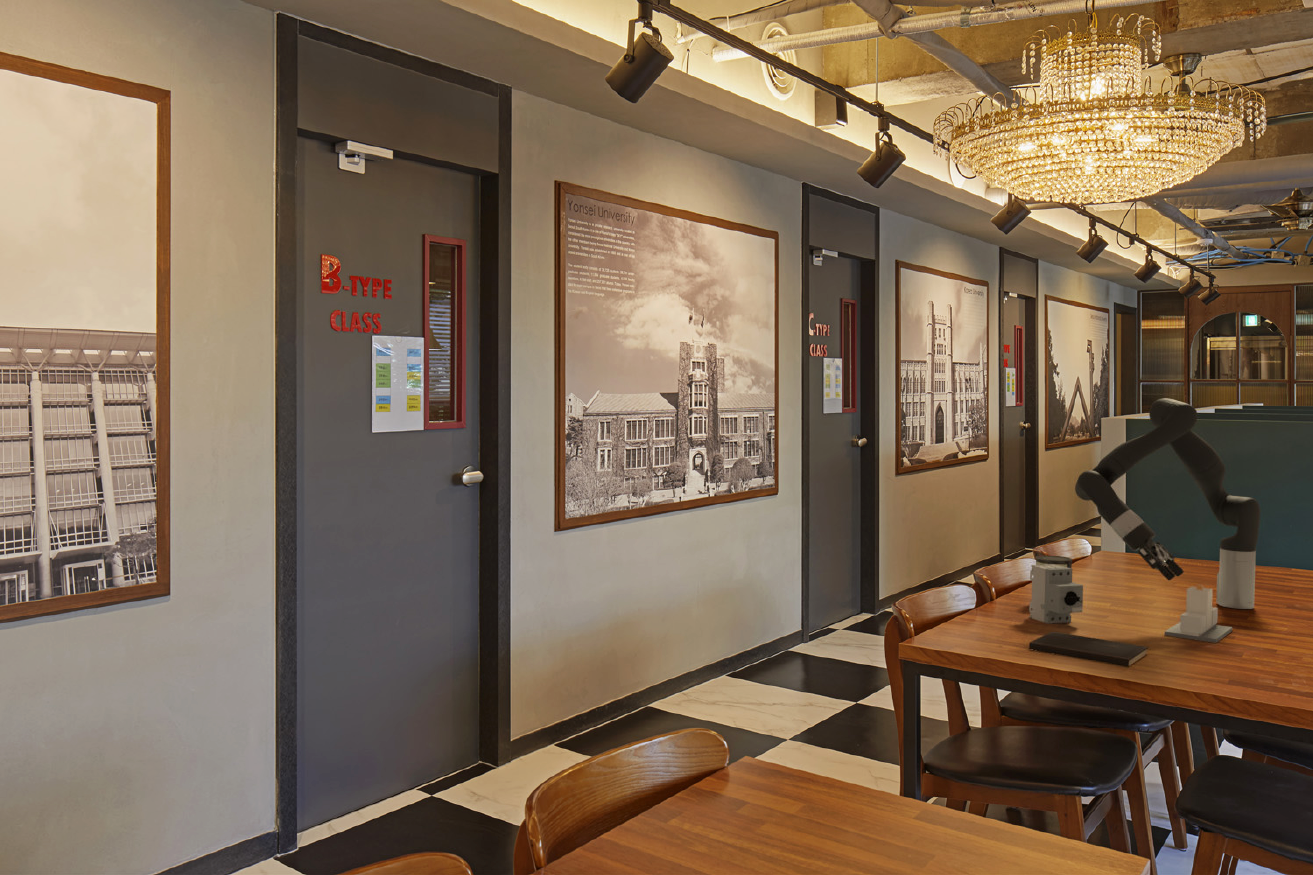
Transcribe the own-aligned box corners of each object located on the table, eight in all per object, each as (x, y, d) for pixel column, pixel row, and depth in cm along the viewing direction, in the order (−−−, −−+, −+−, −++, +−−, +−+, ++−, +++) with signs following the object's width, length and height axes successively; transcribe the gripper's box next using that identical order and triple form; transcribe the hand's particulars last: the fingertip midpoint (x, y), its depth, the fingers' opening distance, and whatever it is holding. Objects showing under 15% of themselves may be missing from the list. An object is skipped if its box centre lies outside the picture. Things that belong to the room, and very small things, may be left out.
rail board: (1182, 623, 267) (1183, 602, 266) (1232, 630, 259) (1232, 609, 258) (1164, 635, 253) (1165, 613, 253) (1216, 643, 245) (1216, 620, 245)
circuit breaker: (1062, 628, 260) (1064, 573, 259) (1029, 617, 274) (1030, 564, 273) (1086, 627, 262) (1087, 572, 261) (1051, 615, 276) (1052, 563, 275)
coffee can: (1053, 599, 299) (1054, 554, 298) (1078, 606, 289) (1080, 559, 289) (1027, 601, 295) (1028, 556, 294) (1052, 608, 285) (1053, 561, 285)
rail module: (1190, 623, 260) (1191, 582, 259) (1211, 626, 256) (1212, 585, 256) (1185, 626, 256) (1186, 585, 255) (1206, 629, 252) (1208, 587, 252)
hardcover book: (1051, 639, 250) (1052, 631, 250) (1148, 656, 234) (1148, 646, 234) (1028, 651, 238) (1028, 642, 238) (1128, 669, 222) (1128, 659, 222)
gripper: (1135, 523, 259) (1181, 571, 252) (1150, 519, 270) (1194, 564, 263) (1113, 541, 263) (1158, 588, 256) (1129, 536, 274) (1172, 581, 266)
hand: (1176, 576), depth 259 cm, fingers open, 8 cm apart
